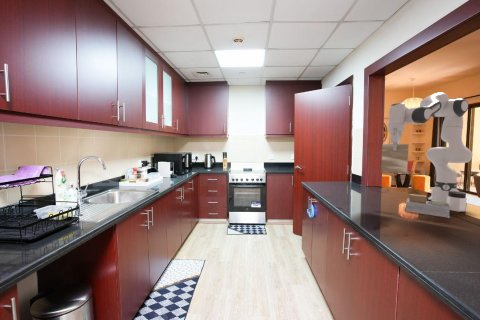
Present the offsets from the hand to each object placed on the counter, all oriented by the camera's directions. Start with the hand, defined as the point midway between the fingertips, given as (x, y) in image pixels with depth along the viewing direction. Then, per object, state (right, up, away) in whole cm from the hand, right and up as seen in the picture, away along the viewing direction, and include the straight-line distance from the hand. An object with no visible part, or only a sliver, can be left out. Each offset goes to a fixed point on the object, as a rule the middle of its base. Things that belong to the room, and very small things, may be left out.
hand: (395, 150), depth 155 cm
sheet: (0, -14, +1) cm, 14 cm away
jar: (+32, -38, -7) cm, 51 cm away
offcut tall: (+7, -36, -9) cm, 38 cm away
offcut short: (+15, -37, -15) cm, 43 cm away
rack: (+11, -38, -11) cm, 41 cm away
